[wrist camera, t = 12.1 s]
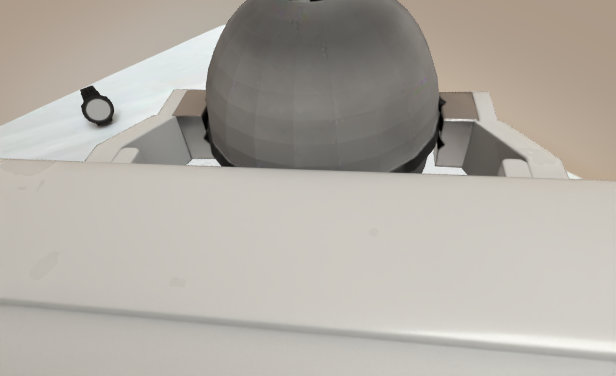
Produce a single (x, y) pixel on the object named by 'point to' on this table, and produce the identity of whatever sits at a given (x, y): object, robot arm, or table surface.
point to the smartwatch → (96, 106)
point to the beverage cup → (323, 88)
